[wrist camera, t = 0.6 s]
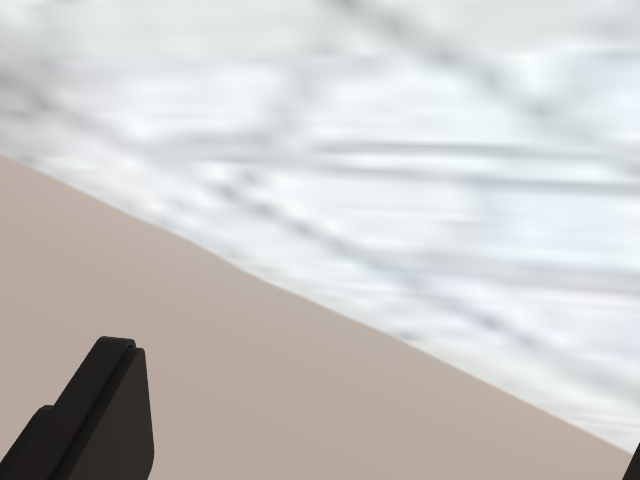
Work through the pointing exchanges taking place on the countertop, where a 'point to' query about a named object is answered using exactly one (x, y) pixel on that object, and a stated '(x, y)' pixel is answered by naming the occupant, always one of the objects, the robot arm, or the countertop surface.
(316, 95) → the countertop surface
